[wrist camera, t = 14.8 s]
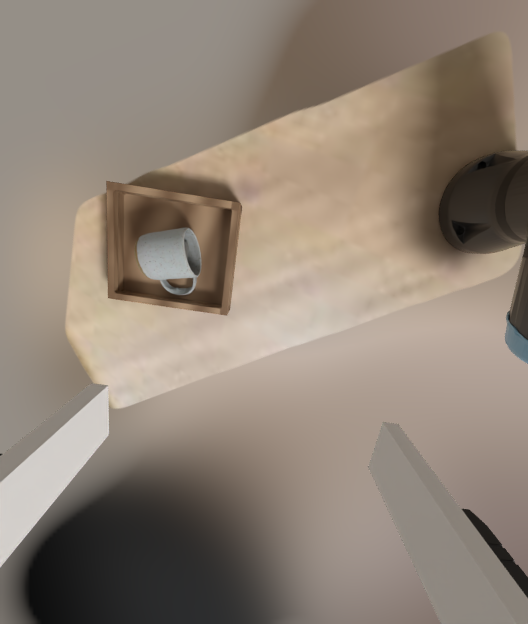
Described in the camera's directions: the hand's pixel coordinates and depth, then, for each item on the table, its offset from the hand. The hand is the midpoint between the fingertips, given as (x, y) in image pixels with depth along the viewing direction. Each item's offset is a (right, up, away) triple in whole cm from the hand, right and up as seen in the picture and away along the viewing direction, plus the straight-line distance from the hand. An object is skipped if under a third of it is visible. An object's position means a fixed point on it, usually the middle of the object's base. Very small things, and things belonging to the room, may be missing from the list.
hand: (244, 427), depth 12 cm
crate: (-14, +16, +32) cm, 38 cm away
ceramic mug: (-13, +14, +31) cm, 37 cm away
